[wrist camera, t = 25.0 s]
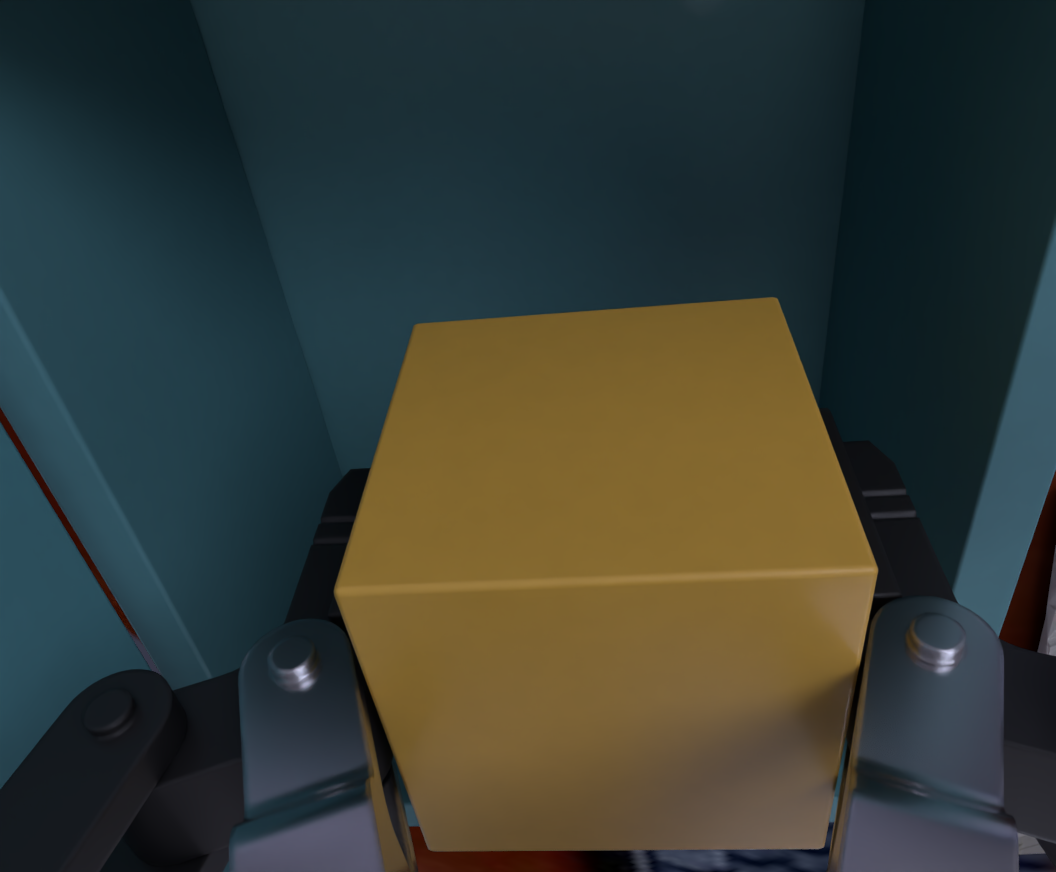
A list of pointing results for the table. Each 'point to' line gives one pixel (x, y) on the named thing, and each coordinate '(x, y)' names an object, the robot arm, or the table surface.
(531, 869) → the table surface
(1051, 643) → the packaged product
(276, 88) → the storage box
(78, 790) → the robot arm
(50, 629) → the lid
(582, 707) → the block
